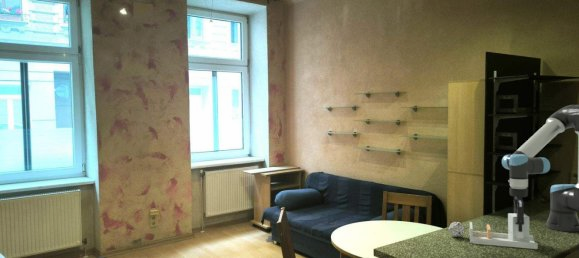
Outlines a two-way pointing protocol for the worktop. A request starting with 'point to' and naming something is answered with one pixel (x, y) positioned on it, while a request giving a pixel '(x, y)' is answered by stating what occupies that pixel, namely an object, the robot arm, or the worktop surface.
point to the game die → (456, 229)
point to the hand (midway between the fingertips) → (518, 235)
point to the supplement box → (513, 228)
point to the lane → (499, 239)
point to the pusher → (488, 232)
